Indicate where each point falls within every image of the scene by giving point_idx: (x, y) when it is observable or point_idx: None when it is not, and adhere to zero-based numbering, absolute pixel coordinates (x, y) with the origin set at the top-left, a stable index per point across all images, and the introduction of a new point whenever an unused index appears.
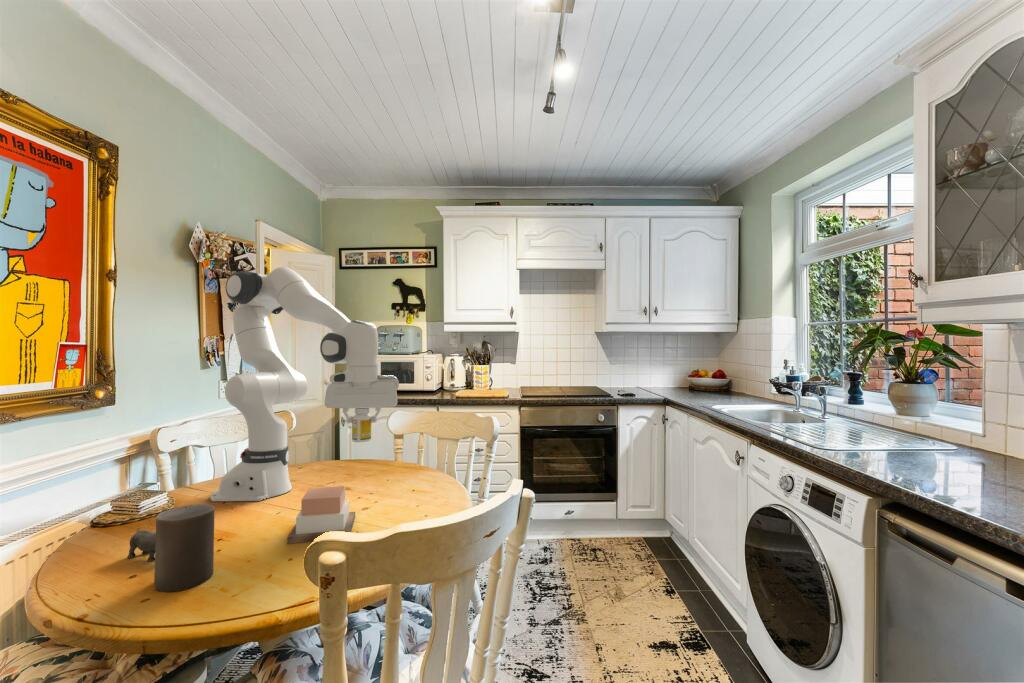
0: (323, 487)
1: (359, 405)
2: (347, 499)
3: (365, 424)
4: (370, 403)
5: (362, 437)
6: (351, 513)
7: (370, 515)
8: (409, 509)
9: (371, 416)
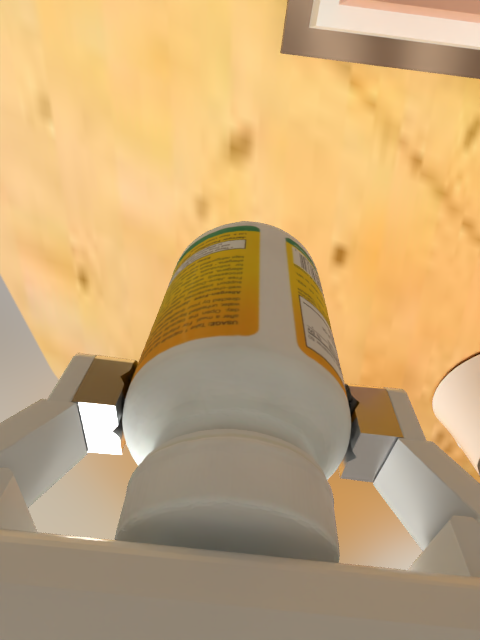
0: (471, 11)
1: (274, 596)
2: (323, 26)
3: (197, 306)
4: (13, 621)
5: (239, 234)
6: (298, 30)
7: (221, 52)
8: (71, 72)
9: (115, 423)
